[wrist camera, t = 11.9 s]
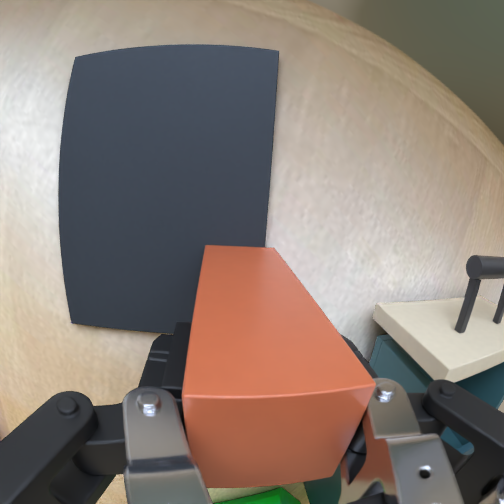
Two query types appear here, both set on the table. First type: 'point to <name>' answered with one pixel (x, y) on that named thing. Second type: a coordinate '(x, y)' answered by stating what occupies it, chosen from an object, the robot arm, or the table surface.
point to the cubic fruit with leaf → (266, 498)
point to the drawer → (446, 341)
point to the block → (266, 375)
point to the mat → (160, 175)
